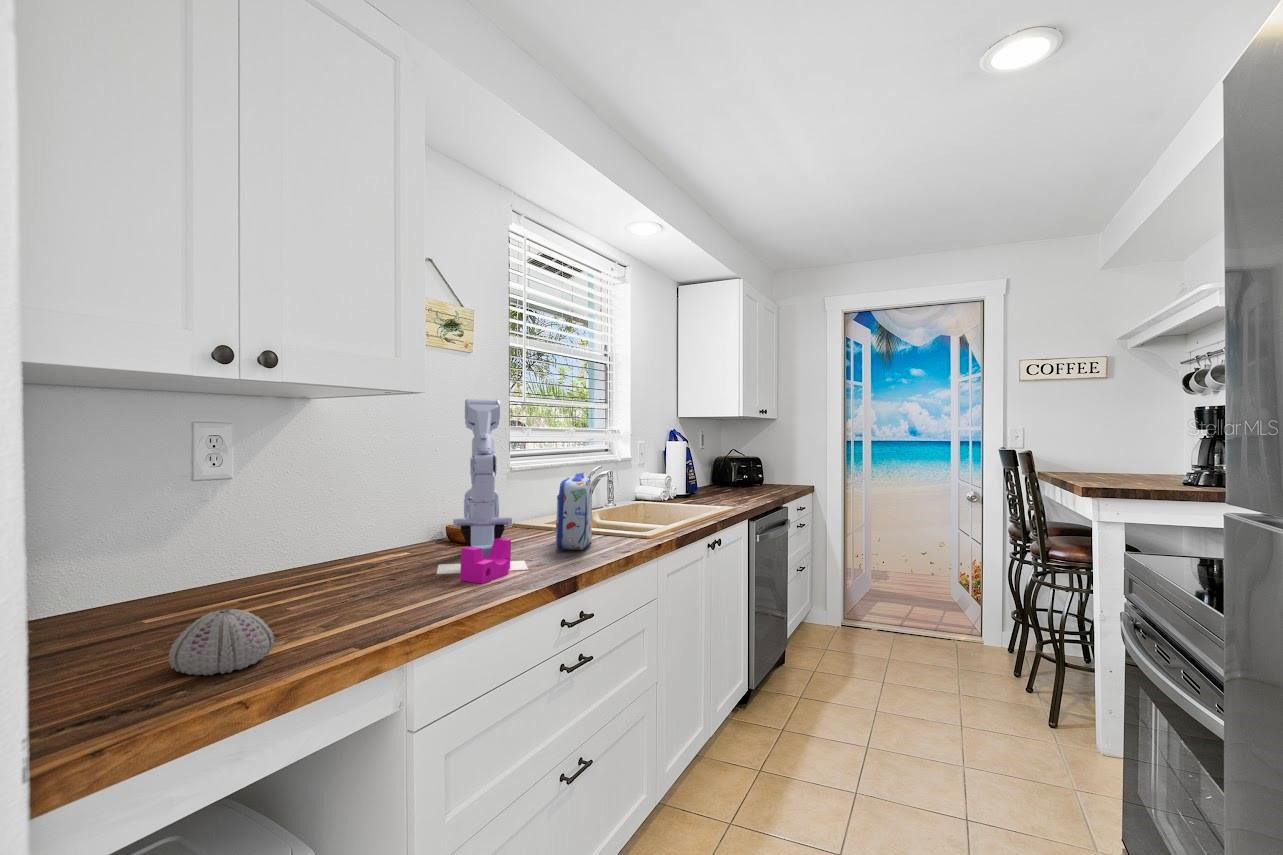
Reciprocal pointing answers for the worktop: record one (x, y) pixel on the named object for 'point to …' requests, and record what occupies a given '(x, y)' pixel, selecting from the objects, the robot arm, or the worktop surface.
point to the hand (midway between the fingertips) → (482, 554)
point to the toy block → (485, 562)
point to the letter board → (457, 567)
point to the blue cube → (485, 549)
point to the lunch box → (574, 513)
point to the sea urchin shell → (221, 643)
